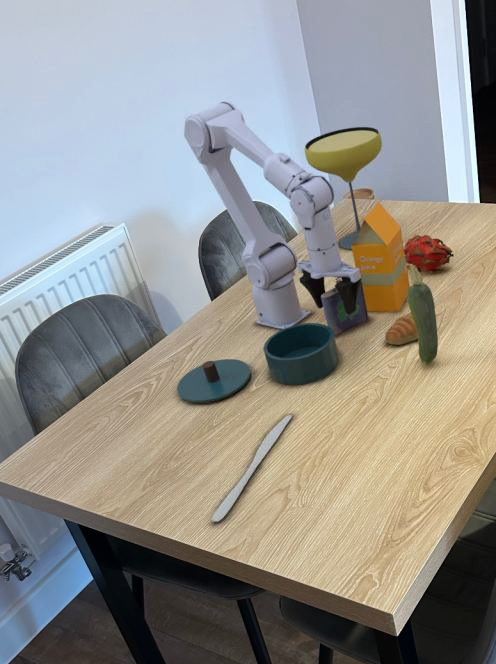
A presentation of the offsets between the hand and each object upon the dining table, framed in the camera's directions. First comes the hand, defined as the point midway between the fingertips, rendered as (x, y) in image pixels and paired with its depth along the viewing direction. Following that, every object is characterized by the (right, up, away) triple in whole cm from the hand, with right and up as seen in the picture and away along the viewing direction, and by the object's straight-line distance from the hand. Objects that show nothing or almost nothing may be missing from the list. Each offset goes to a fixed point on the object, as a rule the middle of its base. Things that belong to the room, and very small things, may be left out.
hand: (336, 309), depth 149 cm
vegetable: (+17, -12, -13) cm, 25 cm away
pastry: (+14, -6, -3) cm, 16 cm away
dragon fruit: (+20, +12, +20) cm, 31 cm away
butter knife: (-13, -30, -27) cm, 42 cm away
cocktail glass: (+5, +24, +41) cm, 47 cm away
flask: (+2, -3, +5) cm, 6 cm away
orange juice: (+11, +3, +11) cm, 15 cm away
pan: (-6, -12, -5) cm, 14 cm away
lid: (-24, -15, -4) cm, 28 cm away
